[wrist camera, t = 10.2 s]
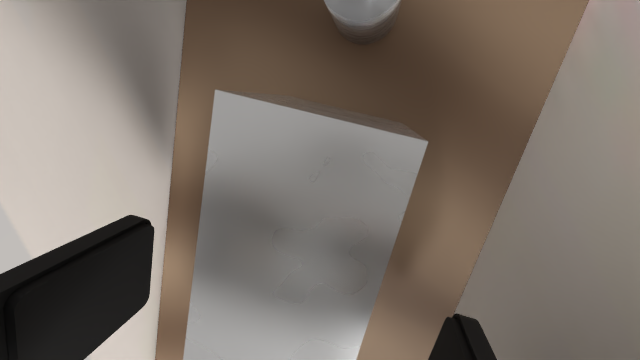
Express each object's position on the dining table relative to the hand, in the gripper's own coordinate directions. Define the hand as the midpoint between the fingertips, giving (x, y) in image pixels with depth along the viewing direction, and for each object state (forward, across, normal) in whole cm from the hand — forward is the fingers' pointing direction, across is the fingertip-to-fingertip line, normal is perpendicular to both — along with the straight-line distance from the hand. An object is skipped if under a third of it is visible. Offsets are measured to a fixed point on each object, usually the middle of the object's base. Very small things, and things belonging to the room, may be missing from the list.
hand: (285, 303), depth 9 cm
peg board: (+4, 0, 0) cm, 4 cm away
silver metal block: (+3, 0, 0) cm, 3 cm away
